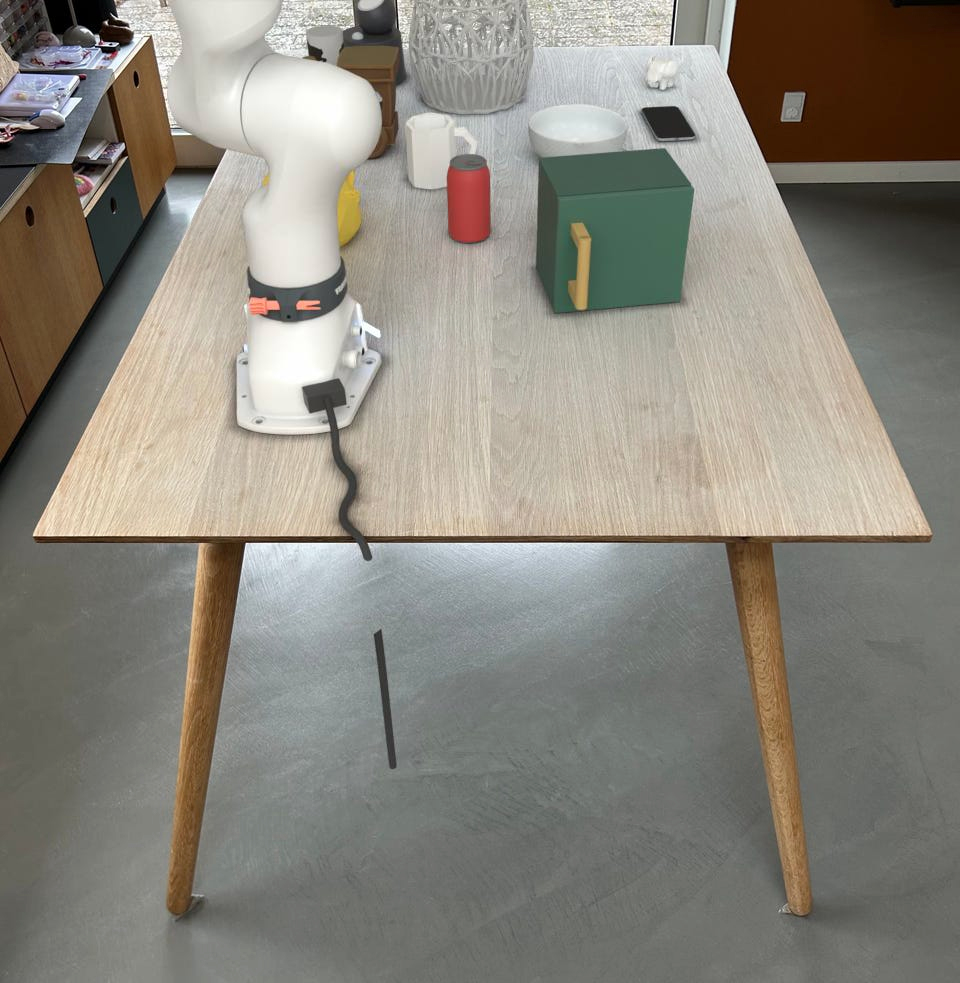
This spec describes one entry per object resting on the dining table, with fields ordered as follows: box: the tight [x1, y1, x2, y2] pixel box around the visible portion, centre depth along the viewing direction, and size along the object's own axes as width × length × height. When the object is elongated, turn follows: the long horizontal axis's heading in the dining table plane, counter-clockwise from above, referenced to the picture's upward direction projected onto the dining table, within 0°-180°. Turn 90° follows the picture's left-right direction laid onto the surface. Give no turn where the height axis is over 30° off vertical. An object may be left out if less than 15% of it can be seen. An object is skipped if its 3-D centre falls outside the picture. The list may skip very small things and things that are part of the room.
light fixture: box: [342, 0, 407, 87], centre depth 211 cm, size 13×16×14 cm
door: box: [552, 185, 695, 314], centre depth 139 cm, size 6×18×17 cm, turn 99°
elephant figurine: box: [645, 54, 679, 91], centre depth 209 cm, size 7×8×6 cm
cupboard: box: [535, 147, 692, 309], centre depth 146 cm, size 12×18×17 cm, turn 99°
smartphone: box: [640, 105, 696, 142], centre depth 195 cm, size 7×1×15 cm
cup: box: [305, 25, 344, 66], centre depth 198 cm, size 7×7×15 cm
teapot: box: [260, 169, 363, 249], centre depth 159 cm, size 20×19×13 cm
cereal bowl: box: [527, 103, 628, 158], centre depth 182 cm, size 17×17×7 cm
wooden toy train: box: [301, 46, 400, 160], centre depth 184 cm, size 20×11×17 cm, turn 87°
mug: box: [404, 112, 479, 191], centre depth 176 cm, size 12×9×10 cm
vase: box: [408, 0, 535, 115], centre depth 199 cm, size 24×24×30 cm
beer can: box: [446, 153, 492, 244], centre depth 159 cm, size 7×7×12 cm
